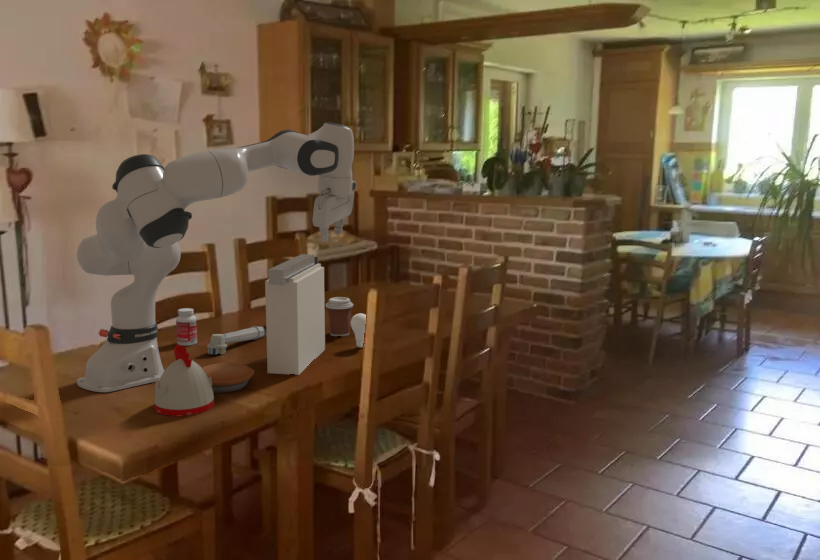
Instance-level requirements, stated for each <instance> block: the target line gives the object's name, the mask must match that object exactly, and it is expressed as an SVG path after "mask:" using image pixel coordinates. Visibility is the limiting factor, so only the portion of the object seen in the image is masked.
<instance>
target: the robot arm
mask: <svg viewBox="0 0 820 560" xmlns="http://www.w3.org/2000/svg"><path fill="white" fill-rule="evenodd" d="M354 153H355V138H354V133H353V130H352V129H351V128H350V127H349V126H347V125H343V124H339V123H335V122H329V121H328V122H324V123H323V125H322V126H321V127H320V128H319V129H317V130H316V131H313V132H311V133H309V134H303V133H300V132H298V131H295V130H293V129H283V130H280V131H278V132H277V133H275V134H274V135H273V136H270V137H269V138H268V139H266V140H263V141H260V142H255V143H252V144H248V145H244V146H239V147H235V148H234V147H233V148H216V149H209V150H204V151H199V152H195V153H191V154H188V155H185V156H181V157H178V158H177V159H174V160H171V161H170V162H168V163H167V164H166V165H165V167H164V166H163V164H162V163H161V162H160V160H159V159H158V158H157V157H156V156H154V155H152V154H147V153H143V154H140V153H139V154H136V155H132V156H129V157H127V158H126V159H124V160H122V162H121V163H120V165H119V166H118V168H117V169H116V173H115V181H114V182H113V184H112V187H111V188H112V190H114V191H116V193H117V194H116V195H117V196H116V198H115V199H113V200H110V201H107V202H106V203H104V204H103V205H102V206H101V207H100V208H99V209H98V211H97V214H96V216H95V217H96V220H95V230H96V234H93V235H90V236H86V237H84V238H83V239H82V240H81V242H79V245H78V247H77V249H76V258H77V259H76V260H77V262H78V264H79V267H80V268H81V270H82V271H84V272H85V273H86V274H89V275H90V274H91V275H99V276H129V275H131V276H134V277H133V278H134V280H133V282H132V283H130V284H128V285H126V286H125V287H122V288H120V289H118V290H117V291H116V292H115V293H114V294H113V295H112V297H111V298H110V313H111V326H110V328H109V330H108V329H104V328H101V329H99V331H98V336H100V337H103V338H106V341H105V342H104V343H103V344H102V346H100V348H99V349H98V350H97V351H96V352H95V353H93V354H92V355H91V356H90V357H89V358H88V360H87V362H86V366H85V376H82V377H79V378H78V379H76V385H77V386H78V387H79V388H81V389H84V390H87V391H91V392H96V393H111V392H115V391H119V390H120V391H121V390H124V389H129V388H133V387H138V386H141V385H142V386H143V385H145V384H151V383H156V381H159V380H160V378H161V376H162V374H163V372H164V371H165V369H164V366H163V364H162V360H161V356H160V351H159V344H158V338H159V337H158V336H159V331H158V330H159V329H158V323H157V322H156V297H157V292H158V289H159V287H160V285H161V283H162V282H163V280H164V279H165V278H166V277H167V276H168V275H169V274H170V273H171V272H173V271H175V269H176V268H177V267H178V265H179V263H180V260H181V255H182V252H181V251H182V250H181V247H180V244H179V242H180V241H181V240H182V239H184V237H185V235H186V233H187V230H189V229H188V228H189V223H190V222H189V221H190V220H191V219H192V217H193V216H192V215H193V214H192V212H190V211H186V209H187V208H188V207H189V206H190V205H192V204H195V203H196V202H201V201H202V202H203V201H210V200H215V199H219V198H223V197H229V196H231V195H234V194H236V193H238V192H240V191H242V190H243V189H244V188H245V186H246V184H247V183H248V178H249V172H253V171H256V170H259V169H264V168H267V167H272V166H273V167H278V168H281V169H285V170H290V171H293V172H296V173H298V174H301V175H304V176H310V177H311V176H313V177H314V176H317V192H318V193H319V195H318V196H317V197H316V198H315V200H314V205H313V211H312V212H313V213H312V226H314V227H318V228H319V232H320V241H321V242H324V243H326V242H328V241H329V240H330V233H329V229H330V226H331V225H333V224H335V227H334V228H333V229H334V230H333V231H334V232H333V233H334V235H341V234H342V233H343V227H344V223H345V221H346V220H345V219H346V217H349V216H351V214H352V211H353V208H354V202H355V201H354V200H355V191H356V189H357V181H355V180H353V171H352V166H353V162H354V158H355V157H354V156H355V154H354Z"/></svg>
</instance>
